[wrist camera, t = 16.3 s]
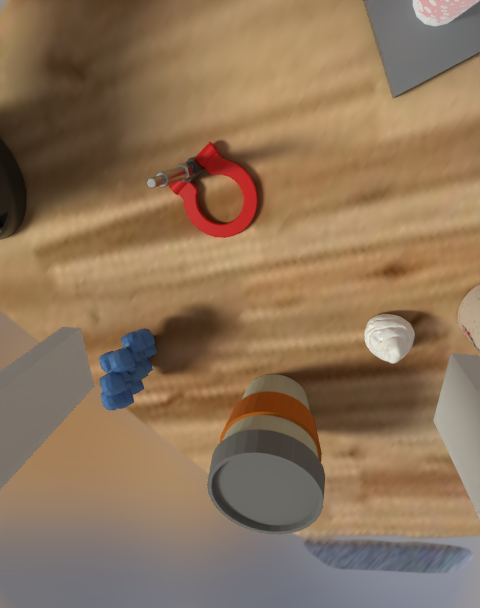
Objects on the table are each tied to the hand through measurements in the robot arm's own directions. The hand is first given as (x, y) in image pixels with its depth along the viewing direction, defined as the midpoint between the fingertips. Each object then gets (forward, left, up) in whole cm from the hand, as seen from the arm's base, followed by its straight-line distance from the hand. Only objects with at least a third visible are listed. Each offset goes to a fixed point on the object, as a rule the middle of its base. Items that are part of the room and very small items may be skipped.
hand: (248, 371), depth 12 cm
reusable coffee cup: (-1, -25, -29) cm, 38 cm away
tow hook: (-8, +3, -29) cm, 30 cm away
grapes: (-20, -17, -29) cm, 39 cm away
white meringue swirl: (+12, -13, -29) cm, 34 cm away
